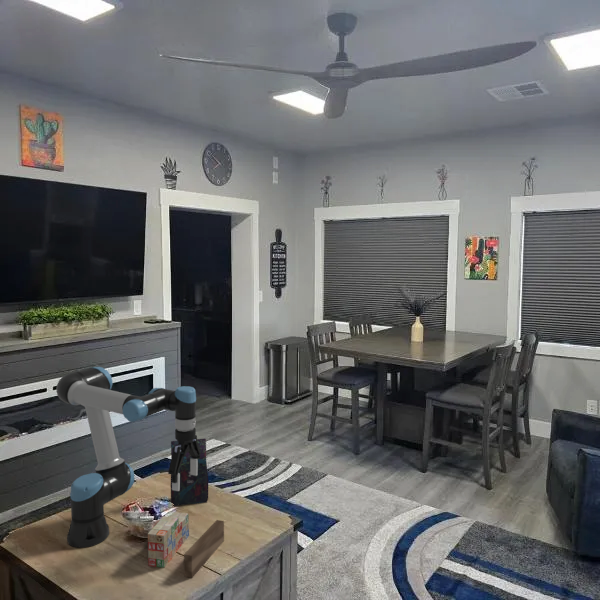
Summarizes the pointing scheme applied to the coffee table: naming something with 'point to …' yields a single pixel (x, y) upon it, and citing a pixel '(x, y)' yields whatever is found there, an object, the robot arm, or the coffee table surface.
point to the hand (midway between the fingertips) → (185, 482)
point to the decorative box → (191, 479)
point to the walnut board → (203, 548)
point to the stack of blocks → (167, 538)
